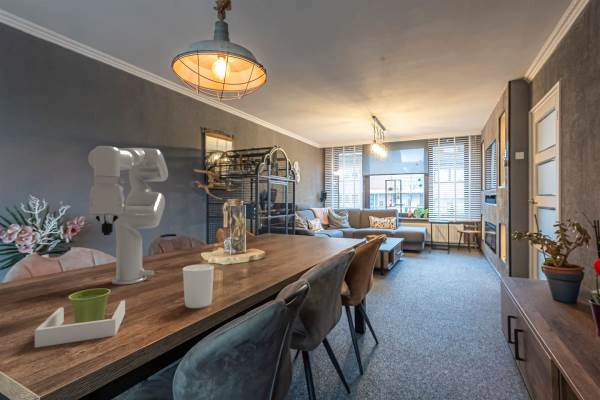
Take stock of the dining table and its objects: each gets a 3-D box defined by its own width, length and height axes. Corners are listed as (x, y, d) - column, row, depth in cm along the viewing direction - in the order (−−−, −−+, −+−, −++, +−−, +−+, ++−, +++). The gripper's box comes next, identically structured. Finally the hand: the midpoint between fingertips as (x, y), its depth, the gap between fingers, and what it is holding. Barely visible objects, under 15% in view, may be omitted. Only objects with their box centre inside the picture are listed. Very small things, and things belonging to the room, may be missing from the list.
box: (125, 313, 89) (125, 300, 89) (115, 335, 74) (115, 319, 74) (59, 322, 82) (59, 307, 82) (34, 347, 68) (34, 330, 68)
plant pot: (66, 336, 74) (66, 301, 74) (69, 323, 82) (69, 291, 82) (110, 327, 79) (111, 294, 79) (109, 315, 87) (109, 286, 87)
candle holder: (187, 299, 102) (187, 264, 102) (216, 298, 103) (216, 264, 103) (178, 309, 92) (178, 271, 92) (210, 308, 93) (210, 270, 93)
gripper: (133, 183, 109) (133, 232, 109) (84, 182, 103) (84, 234, 103) (130, 182, 102) (130, 235, 102) (78, 181, 96) (77, 237, 96)
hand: (107, 234), depth 103 cm, fingers closed
